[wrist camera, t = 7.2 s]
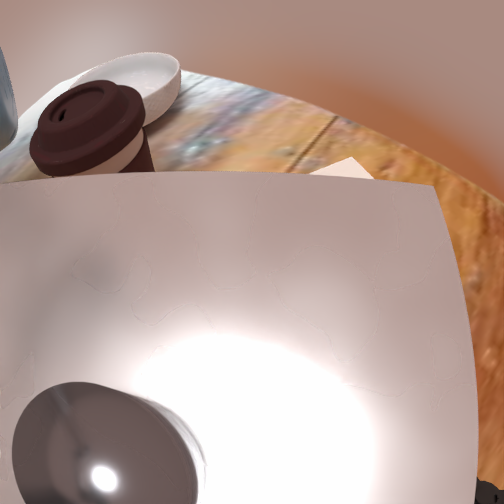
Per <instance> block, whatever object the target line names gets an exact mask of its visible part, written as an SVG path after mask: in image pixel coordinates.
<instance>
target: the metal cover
mask: <svg viewBox="0 0 504 504" xmlns="http://www.w3.org/2000/svg"><path fill="white" fill-rule="evenodd" d="M477 463H478V402H477V385H476V373H475V363H474V354H473V346H472V339H471V332H470V326H469V319H468V314H467V308H466V303H465V298H464V293H463V288H462V283H461V279H460V275H459V270H458V266H457V262H456V258H455V254H454V250H453V247H452V243H451V240H450V236H449V233H448V229H447V226H446V223H445V219H444V216H443V213H442V210H441V207H440V204H439V201H438V198H437V195H436V192H435V189H434V187H433V186H429V185H421V184H413V183H404V182H396V181H386V180H376V179H366V178H354V177H342V176H328V175H313V174H295V173H272V172H236V171H173V172H137V173H115V174H98V175H83V176H70V177H58V178H47V179H38V180H28V181H19V182H11V183H3V184H0V504H474V500H475V490H476V479H477Z"/></svg>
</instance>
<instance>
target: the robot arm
mask: <svg viewBox="0 0 504 504" xmlns="http://www.w3.org/2000/svg"><path fill="white" fill-rule="evenodd" d="M17 129H18V116H17V109H16V103H15V98H14V94H13V89H12V85H11V81H10V77H9V73H8V69H7V66H6V62H5V59H4V55H3V52H2V50H1V48H0V151H1V150H2V149H4V148H5V147H6V146H8V145H9V144H10V143H11V142H12V141H13V140H14V138H15V136H16V133H17ZM474 504H504V490H499V489H498V488H497V487H496V486H494V485H493V484H492V483H489V482H486V481H480V480H479V479H478V477H477V479H476V490H475V500H474Z"/></svg>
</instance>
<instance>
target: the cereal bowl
mask: <svg viewBox="0 0 504 504" xmlns="http://www.w3.org/2000/svg"><path fill="white" fill-rule="evenodd" d="M94 80H109V81H112V82H114V83H115V84H117V85H126V86H129V87H132V88H134V89H136V90H137V91H138V92H139V93H140V94H141V97H142V100H143V103H144V107H145V112H146V116H145V121H144V124H143V126H142V127H144V126H146V125H147V124H150V123H151V122H153V121H154V120H156V119H157V118H159V117H160V116H161V115H163V114H164V113H165V112H166V111H167V110H168V109H169V108H170V106H171V105H172V104H173V102H174V101H175V99H176V98H177V95H178V93H179V90H180V86H181V70H180V64H179V62H178V60H177V59H176V58H174V57H173V56H171V55H168V54H164V53H157V52H156V53H155V52H146V53H137V54H131V55H127V56H123V57H120V58H116V59H113V60H111V61H108V62H106V63H104V64H101V65H99V66H97V67H96V68H94V69H92V70H90V71H89V72H87V73H86V74H84V75H83V76H82V77H80V78H79V79H78V80H77V81H76V82H75V83H74V84H73V85H72V86H71V87H70V88H69V89H71V88H73V87H76V86H78V85H80V84H83V83H86V82H89V81H94ZM69 89H68V90H69Z"/></svg>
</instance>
